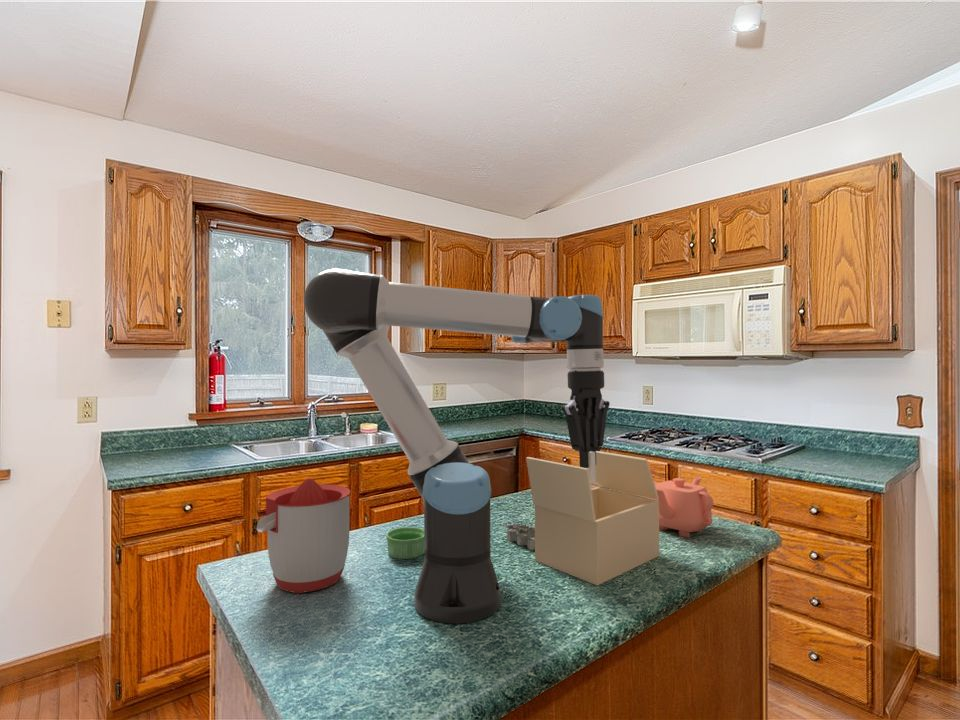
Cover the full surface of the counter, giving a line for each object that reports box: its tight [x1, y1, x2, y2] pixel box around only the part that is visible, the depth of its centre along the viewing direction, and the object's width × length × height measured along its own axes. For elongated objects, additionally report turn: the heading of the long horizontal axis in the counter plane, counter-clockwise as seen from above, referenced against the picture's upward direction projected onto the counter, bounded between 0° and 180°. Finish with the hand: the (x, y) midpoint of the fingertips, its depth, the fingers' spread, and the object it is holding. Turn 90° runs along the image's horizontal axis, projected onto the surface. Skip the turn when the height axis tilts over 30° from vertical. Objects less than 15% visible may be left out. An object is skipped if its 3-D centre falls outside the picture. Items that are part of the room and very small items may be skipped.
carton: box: [534, 487, 660, 586], centre depth 110 cm, size 22×16×12 cm
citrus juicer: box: [256, 477, 351, 594], centre depth 99 cm, size 16×17×20 cm
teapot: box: [649, 476, 714, 538], centre depth 129 cm, size 15×17×13 cm
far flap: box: [596, 450, 659, 500], centre depth 116 cm, size 10×16×1 cm
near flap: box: [525, 456, 596, 522], centre depth 102 cm, size 10×16×1 cm
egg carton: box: [503, 522, 535, 550], centre depth 121 cm, size 11×8×4 cm
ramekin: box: [385, 526, 425, 560], centre depth 114 cm, size 9×9×4 cm
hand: (588, 482), depth 107 cm, fingers closed
